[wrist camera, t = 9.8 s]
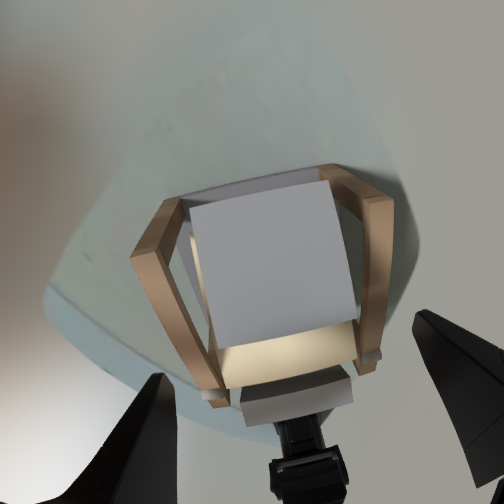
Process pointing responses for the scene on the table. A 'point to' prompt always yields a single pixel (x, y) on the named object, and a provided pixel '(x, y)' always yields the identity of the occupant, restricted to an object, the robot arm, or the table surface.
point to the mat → (227, 193)
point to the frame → (187, 339)
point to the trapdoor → (287, 369)
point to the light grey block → (273, 264)
